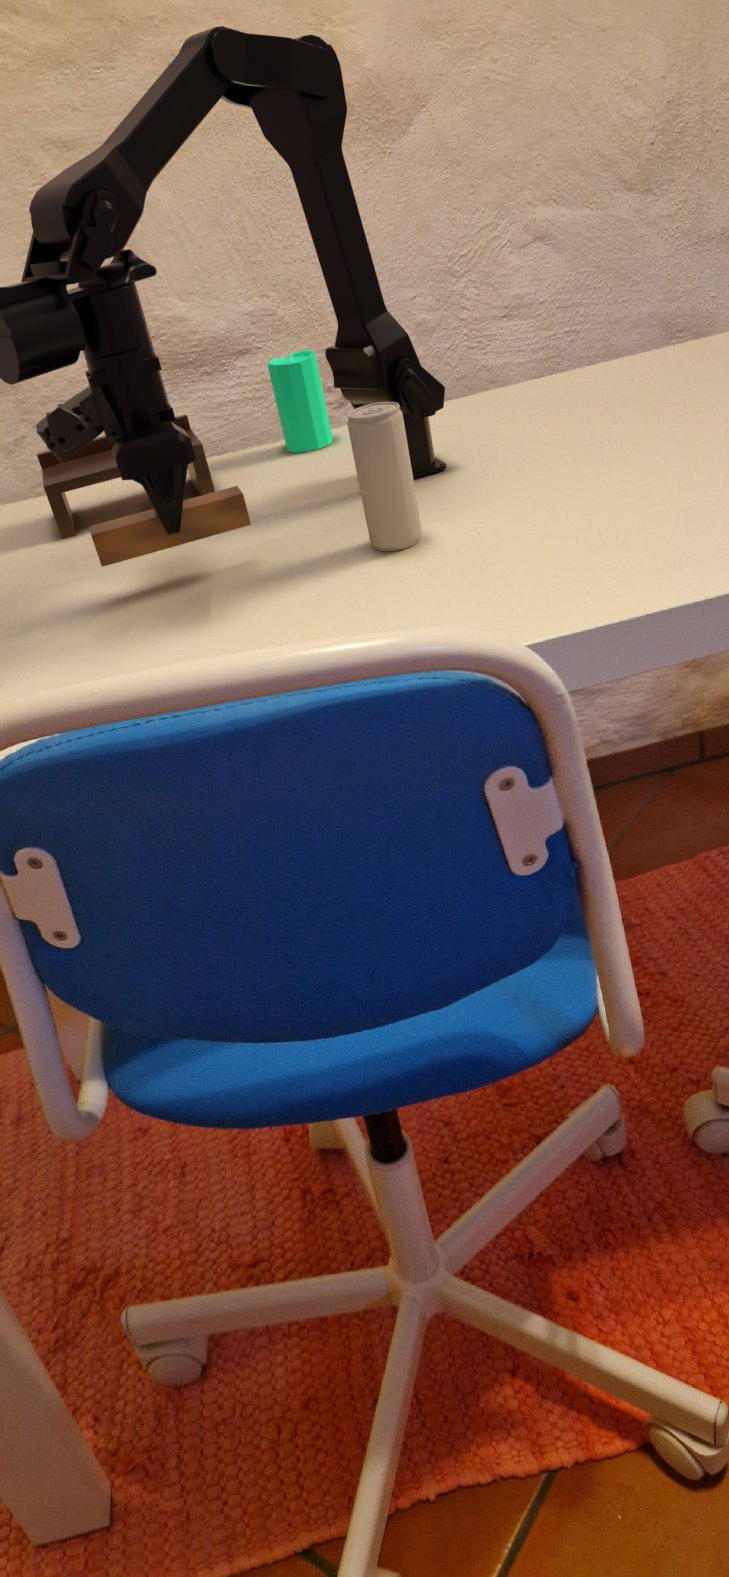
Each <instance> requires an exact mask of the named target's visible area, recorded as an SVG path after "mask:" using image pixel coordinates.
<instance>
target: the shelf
mask: <svg viewBox="0 0 729 1577" xmlns="http://www.w3.org/2000/svg"><path fill="white" fill-rule="evenodd" d="M175 419H176V420H173V421H172V423H174V424H176V425H177V426H179V427H181V428H182V429H184V430H185V431H186V433H187V434H188V435H189V437H190V439H191V443H192V446H193V450H194V454H195V457H196V461H194V462H192V463H191V464H188V469H187V473H188V476H189V479H190V481H191V482H192V485H193V486H194V488H195V489H196V490H197V492H198V494H199V496H202V495H205V494H209V493H212V492H216V489H215V486H214V483H213V479H212V473H211V471H210V468H209V463H208V459H207V456H206V452H205V449H204V445H203V443H202V442H201V440H200V439H199V438H198V436H197V435H196V433H195V432H194V431H193V429H192V428H191V424H190V421H189V417H188V415H187V414H186V413H185V414H181V415H178V416H175ZM162 424H163V423H162ZM117 438H118V436H117V437H114V438H113V439H114V441H113V442H109V443H108V442H107V439H106V437H105V435H102V436H98V437H96V438H95V439H94V440H92V441H91V442H89V443H88V444H87V445H85V446H84V447H83V448H81V449H80V450H78V451H77V452H76V453H75V456H74V457H73V458H72V459H70V460H69V461H67V462H65V463H63V464H62V463H60V462H59V460H58V459H57V458H56V457H55V455H54V454H53V453H52V451H51V450H49V449H48V450H45V451H42V452H38V453H36V457H37V459H38V463H39V466H40V468H41V477H42V486H43V490H44V492H45V495H46V498H47V501H48V503H49V506H50V509H51V512H52V515H53V518H54V520H55V523H56V526H57V529H58V531H59V534H60V537H61V539H65V538H69V537H72V536H76V528H75V522H74V517H73V512H72V509H71V506H70V503H69V500H68V497H67V495H66V492H70V491H71V492H72V491H74V490H78V489H81V488H85V487H89V486H92V485H96V484H101V483H104V482H107V481H112V480H115V479H118V478H121V476H120V473H119V470H118V467H117V464H116V461H115V458H114V456H113V453H112V448H113V446H114V444H115V442H116V440H117Z"/></svg>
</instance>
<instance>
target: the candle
mask: <svg viewBox="0 0 729 1577" xmlns="http://www.w3.org/2000/svg"><path fill="white" fill-rule="evenodd" d="M287 349H288V354H289V355H287V356H285V357H283V358H272V359H271V360H270V361H268V363H267V369H268V374H269V378H270V383H271V387H272V391H273V395H274V399H275V404H276V408H277V412H278V413H277V414H278V418H279V421H280V425H281V430H282V434H283V438H284V444H285V449H286V450H287V453H295V454H299V453H307V452H313V451H315V450H319V449H322V448H324V447H327V446H329V445H330V444H332V443H333V442H334V439H333V434H332V428H331V424H330V419H329V414H328V409H327V404H326V398H325V393H324V390H323V384H322V380H321V374H320V369H319V365H318V359H317V355H316V351H314V350H308V349H307V350H301V351H295V352H292V353H291V349H290V344H289V343H287Z"/></svg>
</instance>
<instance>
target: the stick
mask: <svg viewBox="0 0 729 1577" xmlns="http://www.w3.org/2000/svg"><path fill="white" fill-rule="evenodd" d="M249 526H252V522H251V518H250V514H249V510H248V507H247V503H246V500H245V495H244V493H243V492H242V490H241V489H240V487H239V486H238V485H234V486H231V487H227V488H224V489H220V490H217V491H216V490H215V492H212V493H209V494H205V495H202V496H201V495H198V496H195V497H191V498H187V499H183V508H182V517H181V526H180V531H179V532H178V533H175V534H172V535H169V534H168V533H167V532H166V530H165V528H164V526H163V524H162V522H161V520H160V518H159V516H158V514H157V512H156V510H155V509H154V508H152V509H151V508H150V509H148V510H144V511H141V512H137V513H133V514H130V515H126V516H123V517H119V518H115V519H112V520H108V521H104V522H101V523H97V524H93V525H89V532H90V537H91V539H92V542H93V544H94V545H93V546H94V548H95V552H96V554H97V557H98V560H99V562H100V566H101V567H102V568H103V567H108V566H110V565H113V564H118V563H121V562H124V561H128V560H132V559H136V558H139V557H142V556H147V555H150V554H153V553H157V552H161V551H164V550H167V549H170V548H175V547H178V546H181V545H186V544H188V543H191V542H192V543H193V542H196V541H198V540H202V539H206V538H208V537H209V538H210V537H213V536H216V535H220V534H223V533H227V532H231V531H234V530H238V529H242V528H245V527H249Z"/></svg>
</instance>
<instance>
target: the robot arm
mask: <svg viewBox="0 0 729 1577" xmlns="http://www.w3.org/2000/svg"><path fill="white" fill-rule="evenodd" d="M342 72H343V71H342V66H341V63H340V60H339V57H338V55H337V52H336V50H335V48H334V47H333V45H332V44H329V43H327V42H326V41H325V40H324V39H323V38H321V37H320V36H317V35H316V34H315V35H314V34H307V35H306V34H305V35H301V36H299V37H295V38H292V37H289V36H288V37H287V36H279V35H268V34H267V35H266V34H257V33H248V32H244V31H242V30H241V31H240V30H238V29H233V28H229V27H226V26H224V25H220V26H215V27H211V28H209V29H206V30H203V31H200V32H198V33H195V34H192V35H190V36H189V37H188V38H186V39H185V40H184V42H183V44H182V45H181V48H179V51H178V54H177V55H176V56H175V57H174V58H173V60H172V61H171V62H170V63H169V64H168V65H167V66H166V68H165V69H164V70H163V72H162V73H161V74H160V75H159V76H158V78H157V79H156V80H155V81H154V83H153V84H152V85H151V86H149V88H148V89H147V91H146V92H145V93H144V94H143V96H141V98H140V99H139V100H138V101H137V102H136V104H135V105H134V106H133V108H131V109H130V111H129V112H128V113H127V115H126V116H125V117H124V118H123V119H122V121H120V123H118V125H117V126H116V128H115V129H114V130H113V131H112V133H111V134H110V135H109V136H108V137H107V138H106V140H104V142H103V143H102V144H101V145H100V146H98V148H96V149H95V150H93V151H92V152H91V153H89V154H87V155H86V156H84V157H83V158H81V159H79V160H78V161H76V162H74V163H73V164H71V165H70V166H68V167H66V168H65V169H63V170H61V172H59V173H58V174H57V175H55V176H54V177H53V178H52V179H50V180H49V181H47V182H46V183H45V184H44V185H42V186H41V187H40V188H38V189H37V191H36V192H35V194H34V196H33V197H32V199H31V201H30V204H29V209H28V210H29V214H30V222H31V228H32V233H31V238H30V243H29V246H28V251H27V256H26V261H25V263H24V267H23V268H24V269H23V272H22V277H21V282H17V283H14V284H10V285H8V286H0V380H2V381H3V382H4V383H6V384H8V385H11V386H13V385H16V384H20V383H21V382H26V381H27V380H31V379H34V378H36V377H39V376H42V375H46V374H48V373H52V372H55V371H57V370H61V369H63V368H66V367H67V368H68V367H71V366H72V365H74V364H77V362H78V361H79V358H80V354H81V352H82V353H83V356H84V360H85V362H86V367H87V370H86V371H84V374H85V376H86V379H87V382H88V386H87V387H85V388H84V389H83V390H81V391H79V393H76V394H75V395H74V396H72V397H70V398H69V399H67V401H65V402H63V403H58V404H57V407H56V408H55V409H53V410H52V411H51V412H50V411H47V412H46V413H45V417H43V418H42V419H41V420H40V421H39V422H37V423H36V426H35V429H36V434H37V435H38V436H39V438H40V439H41V440H42V441H43V443H44V444H45V445H46V448H47V449H48V451H49V450H51V451H52V453H53V454H54V455H55V457H56V458H57V459H58V460H59V462H60V463H62V464H63V463H65V462H67V461H69V460H70V459H72V458H73V457H74V456H75V453H76V452H77V451H78V450H80V449H81V448H83V447H84V446H85V445H87V444H88V443H89V442H91V441H92V440H94V439H95V438H98V437H100V435H101V434H102V433H103V434H104V436H105V437H106V439H107V442H108V443H109V442H113V441H114V439H113V438H114V437H117V436H118V438H117V440H116V442H115V444H114V446H113V448H112V453H113V456H114V458H115V461H116V464H117V467H118V470H119V473H120V476H121V477H120V478H121V481H133V482H136V483H137V484H139V485H141V486H142V488H143V490H144V491H145V493H146V495H147V497H148V500H149V501H150V503H151V505H152V506H153V509H155V510H156V512H157V514H158V516H159V518H160V520H161V522H162V524H163V526H164V528H165V530H166V532H167V533H168V534H169V535H172V534H175V533H178V532H179V531H180V526H181V517H182V508H183V501H184V500H185V490H186V482H187V474H188V464H191V463H192V462H194V461H196V457H195V454H194V450H193V446H192V443H191V439H190V437H189V435H188V434H187V433H186V431H185V430H184V429H182V428H181V427H179V426H177V425H176V424H174V423H172V421H173V420H176V419H175V417H176V416H175V413H174V412H175V411H174V408H173V407H172V405H171V404H170V402H169V398H168V394H167V391H166V388H165V383H164V380H163V377H162V374H161V371H162V370H163V369H162V366H161V361H160V358H159V356H158V355H157V354H156V352H155V348H154V344H153V342H152V338H151V334H150V331H149V326H148V324H147V319H146V317H145V312H144V310H143V306H142V302H141V298H140V294H139V292H138V287H137V284H136V282H140V281H142V280H147V279H150V278H153V277H155V276H156V275H157V273H158V269H157V267H155V266H154V265H152V264H151V263H149V262H148V261H146V260H144V259H141V257H139V256H138V255H137V254H136V253H135V252H134V251H133V250H132V249H131V248H129V249H128V248H127V249H125V247H126V246H127V244H128V242H129V241H130V239H131V237H132V235H133V233H134V231H135V230H136V227H137V226H138V224H139V222H140V220H141V218H142V216H143V214H144V210H145V205H146V199H147V194H148V192H149V190H150V188H151V186H152V185H153V182H154V181H155V179H156V178H157V177H158V176H159V175H160V173H161V172H162V171H163V169H164V168H165V167H166V166H167V165H168V164H169V162H170V161H171V160H172V158H173V157H174V156H175V155H176V154H177V152H178V151H179V150H180V149H181V148H182V146H184V144H185V142H186V141H187V140H188V139H189V138H190V137H191V135H192V134H193V133H194V132H195V131H196V129H197V128H198V127H199V125H200V124H201V123H202V122H203V120H204V119H205V118H206V117H207V116H208V114H209V113H210V112H211V111H212V110H213V109H214V107H215V106H216V105H217V103H218V102H219V101H221V100H223V101H225V102H227V103H228V104H230V105H234V106H239V107H242V108H243V107H244V108H248V109H251V111H252V112H253V115H254V117H255V119H256V122H257V124H258V126H259V128H260V130H261V133H262V135H263V136H264V138H265V140H266V141H267V142H268V144H270V145H271V147H272V148H273V149H274V150H275V151H276V153H277V154H278V155H279V156H280V157H281V158H282V160H284V162H285V163H286V164H287V166H288V167H289V169H290V170H289V171H290V172H291V175H292V179H293V183H294V185H295V188H296V191H297V195H298V199H299V201H300V204H301V208H302V211H303V214H304V218H305V220H306V224H307V228H308V230H309V234H310V238H311V240H312V243H313V247H314V250H315V254H316V256H317V260H318V263H319V266H320V269H321V272H322V276H323V279H324V283H325V286H326V289H327V292H328V295H329V299H330V301H331V306H332V308H333V312H334V315H335V318H336V322H337V331H336V334H335V341H334V345H332V346H329V347H327V348H325V350H324V351H325V352H324V353H325V359H326V360H327V364H328V365H329V368H330V369H331V372H332V377H333V388H334V389H339V390H340V391H341V394H342V396H343V397H344V399H345V400H346V401H349V402H350V404H351V406H352V408H353V410H354V409H356V408H359V407H362V406H365V405H369V404H374V403H380V402H396V403H398V404H399V406H400V407H399V409H400V410H401V411H402V414H403V420H404V426H405V432H406V438H407V444H408V450H409V456H410V462H411V468H412V474H413V479H415V478H420V477H423V476H425V475H430V474H432V473H437V472H441V471H444V470H446V469H447V468H448V467H447V466H448V465H447V463H446V462H444V461H443V460H441V459H440V458H438V457H436V456H435V451H434V450H435V449H434V443H433V438H432V431H431V425H430V417H432V416H435V415H436V414H437V412H438V411H441V410H442V409H444V404H445V395H446V386H445V385H443V384H442V382H440V381H439V380H438V379H437V378H436V377H434V375H432V374H431V373H430V372H429V371H428V370H426V369H425V368H424V367H423V366H422V365H421V361H420V358H419V357H418V354H417V351H416V349H415V347H414V344H413V342H412V340H411V338H410V334H409V333H408V332H407V331H406V330H405V328H403V326H402V325H401V324H400V323H399V322H398V321H397V319H396V318H395V317H394V316H393V314H392V313H391V312H390V311H389V310H388V308H387V305H386V304H385V300H384V296H383V292H382V289H381V285H380V281H379V278H378V276H377V275H378V274H377V271H376V268H375V265H374V264H375V263H374V260H373V256H372V254H371V250H370V246H369V243H368V238H367V235H366V231H365V228H364V224H363V220H362V217H361V214H360V210H359V207H358V203H357V199H356V194H355V192H354V189H353V185H352V182H351V178H350V174H349V171H348V166H347V163H346V160H345V156H344V152H343V139H344V133H345V128H346V120H347V114H348V105H347V98H346V92H345V85H344V79H343V73H342ZM111 258H112V260H111V262H109V264H106V265H103V264H104V263H105V261H106V260H107V259H111ZM75 284H77V286H76V287H73V288H70V289H67V286H68V285H75ZM162 423H163V424H162Z"/></svg>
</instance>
